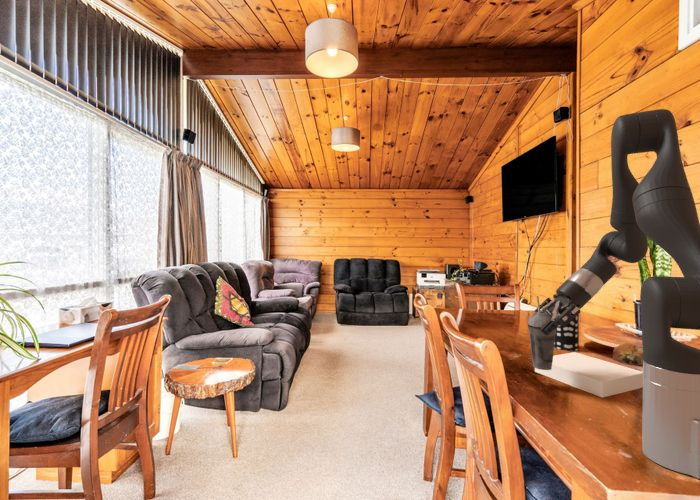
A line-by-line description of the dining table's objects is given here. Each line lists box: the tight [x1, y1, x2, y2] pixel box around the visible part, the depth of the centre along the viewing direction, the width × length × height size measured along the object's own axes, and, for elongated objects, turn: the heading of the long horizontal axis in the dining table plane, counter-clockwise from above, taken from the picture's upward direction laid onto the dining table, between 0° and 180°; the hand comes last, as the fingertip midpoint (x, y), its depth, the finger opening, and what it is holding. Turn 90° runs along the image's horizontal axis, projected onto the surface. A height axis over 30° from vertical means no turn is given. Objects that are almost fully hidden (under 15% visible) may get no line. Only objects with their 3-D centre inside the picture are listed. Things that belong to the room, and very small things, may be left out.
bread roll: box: [612, 342, 643, 367], centre depth 117 cm, size 10×10×8 cm
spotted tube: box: [552, 293, 580, 352], centre depth 133 cm, size 8×8×20 cm
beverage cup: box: [527, 295, 557, 370], centre depth 97 cm, size 7×7×20 cm
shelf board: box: [534, 351, 643, 399], centre depth 101 cm, size 20×18×4 cm
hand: (536, 329), depth 97 cm, fingers closed on beverage cup, 7 cm apart
